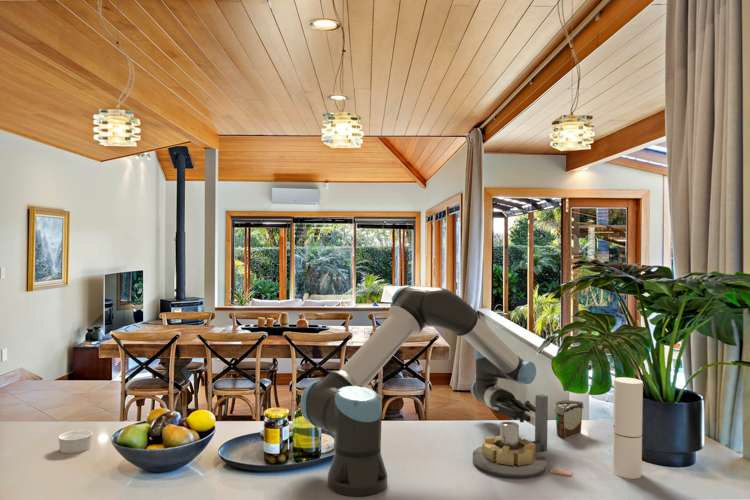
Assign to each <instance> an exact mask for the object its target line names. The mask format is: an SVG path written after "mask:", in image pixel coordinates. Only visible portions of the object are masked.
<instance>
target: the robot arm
mask: <svg viewBox="0 0 750 500" xmlns="http://www.w3.org/2000/svg"><path fill="white" fill-rule="evenodd" d="M427 326H430V327H437V328H441V329H444V330H448V331H449V332H451V333H452V334H453V335H455V336H456V337H462V339H464V340H465V341H466V342H468V343H469V345H471V346H472V348H474V350H475V352H476V353H475V380H473V381H472V384H471V386H470V392H471V395H472V397H474V398H475V400H477V401H478V402H479V403H483V404H484V405H485V406H487V407H489V408H490V409H492V410H493V411H492V412H493V413H496V414H500V415H502V416H504V417H508V418H510V419H512V420H515V421H518V420H519V422H520V423H524V421H525V422H527V423H529V424H530V425H532V426H534V427H535V406H534V405H533V404H532V403H531V401H530V400H526V401H524V402H522V401H521V400H519V399H516V397H515V395H514V394H513V393H512V392H510V391H509V390H507V389H504V388H503V387H500V386H498V380H499V379H502V380H506V381H511V382H515V383H518V384H523V385H530V384H532V383H533V382H534V381H535V378H536V375H537V368H536V364H535V363H534V362H533V361H530V360H527V359H523V358H521V357H520V356H519V355H518V354H517V353H516V352H515V351H514V350H513V349H512V348H511V347H509V346H508V344H507V343H505V342H504V341H503V340H502V339H501V338H500V337H499V336H498V335H497V334H496V333H495V332H494V331H493V330H492V329H490V327H488V326H487V324H485V322H484V321H482V320H481V319H480V317H479V314H478V312H477V310H476V309H474V308H473V306H471V304H470V303H468V302H467V301H466V300H465V299H463V298H462V297H461V296H459V295H457V294H456V293H454V292H453V291H451V290H449V289H447V288H443V287H437V286H436V287H435V286H426V285H425V286H424V285H419V284H411V285H410V284H407V285H403V286H402V287H400V288H398V289H397V290H396V291H395V292H394V294H393V295H392V297H391V303H390V308H388V316H387V318H386V319H385V320H384V321H383V322H382V323H381V324H380V326H378V328H377V329H376V330H375V331H374V332H373V333H372V334H371V336H370V337H368V339H366V341H365V342H364V343H363V344H362V345H361V346H360V347H359V348H358V350H356V352H355V353H354V354H353V355H352V356H351V357H350V358H349V360H347V362H345V364H344V365H343V366H342V367H341V368H340V369H339V370H332V371H330V372H329V373H328V374H327V375H326V376H325V377H324V379H322V380H315V381H312V382H310V383H308V384H307V385H306V387H305V388H304V389H303V391H302V393H301V397H300V405H299V407H300V412H301V414H302V417H303V418H304V419H305V421H307V422H309V424H311V425H312V426H314V427H316V428H319V429H322V430H324V431H326V432H328V433H330V434H332V435H334V446H335V447H334V454H333V458H332V461H331V464H330V467H329V469H328V474H327V487H328V488H329V489H330V490H331V491H333V492H335V493H337V494H340V495H343V496H349V497H350V496H351V497H364V496H371V495H374V494H377V493H380V492H383V490H385V489H386V488H387V486H388V473H387V469H386V466H385V462H384V460H383V457H382V450H381V449H382V413H383V409H382V400H381V397H380V395H379V393H377V392H376V391H375V390H373V389H371V388H368V387H367V386H368V385H369V384H370V382H371V381H372V380H373V379H374V378H375V377H376V376H377V374H378V373H379V372H380V371H381V370H382V369H383V367H384V366H385V365H386V364H387V363H388V362H389V361H390V359H391V358H392V357H393V356H394V355H395V354H396V352H397V351H398V350H399V349H400V348H401V347H402V346H403V344H404V343H405V342H406V341H407V340H408V338H410V336H418V335H419V334H420V332H422V330H423V329H424V328H425V327H427Z"/></svg>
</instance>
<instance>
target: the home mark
mask: <svg viewBox="0 0 750 500" xmlns="http://www.w3.org/2000/svg"><path fill="white" fill-rule="evenodd" d="M550 473H551V474H554V475H559V476H564V477H571V476H572V474H573V472H572V471H570V470H564V469H558V468H552V469H551V471H550Z"/></svg>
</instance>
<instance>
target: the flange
mask: <svg viewBox="0 0 750 500" xmlns="http://www.w3.org/2000/svg"><path fill="white" fill-rule="evenodd" d="M499 424H500V425H499V430H500V432H499V433H500V434H499V436H500V448H501V449H502V448H503V446H510V450H518V446H519V438H520V436H519V434H520V429H519V427H520V426H519V424H518V423H516V422H513V421H503V422H500V423H499ZM482 446H483V445H481V446H480V447H477V448H476V449H474V450H473V452H472V464H473V466H474V467H475V468H476V469H478V470H480V471H481V472H483V473H486V474H488V475H491V476H494V477H498V478H504V479H512V480H513V479H514V480H515V479H516V480H523V479H527V480H528V479H532V478H536V477H540V476H542V475H544V474H545V473H546V471H547V467H548V466H547V465H548V463H547V458H546V457H545V456H544V455H543V454H542V452H538V453H536V458H535V461H534V462H532V463H531V464H525V465H519V466H518V465H516V464H514V466H513V465H506V464H500V463H496V461H495V462H492V461H491V460H489V459H487V458H486V457H484V456H483V454H482Z"/></svg>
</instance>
